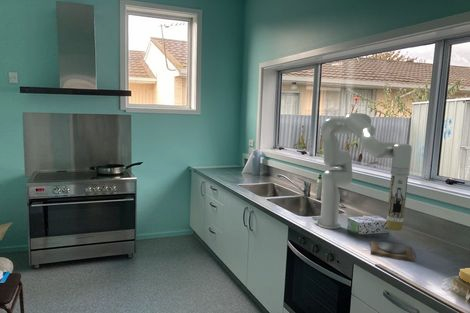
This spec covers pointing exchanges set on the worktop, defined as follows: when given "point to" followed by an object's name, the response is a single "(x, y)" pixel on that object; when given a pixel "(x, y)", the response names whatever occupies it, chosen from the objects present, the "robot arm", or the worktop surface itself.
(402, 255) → the brown tray
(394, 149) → the robot arm
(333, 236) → the worktop surface
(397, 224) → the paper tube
